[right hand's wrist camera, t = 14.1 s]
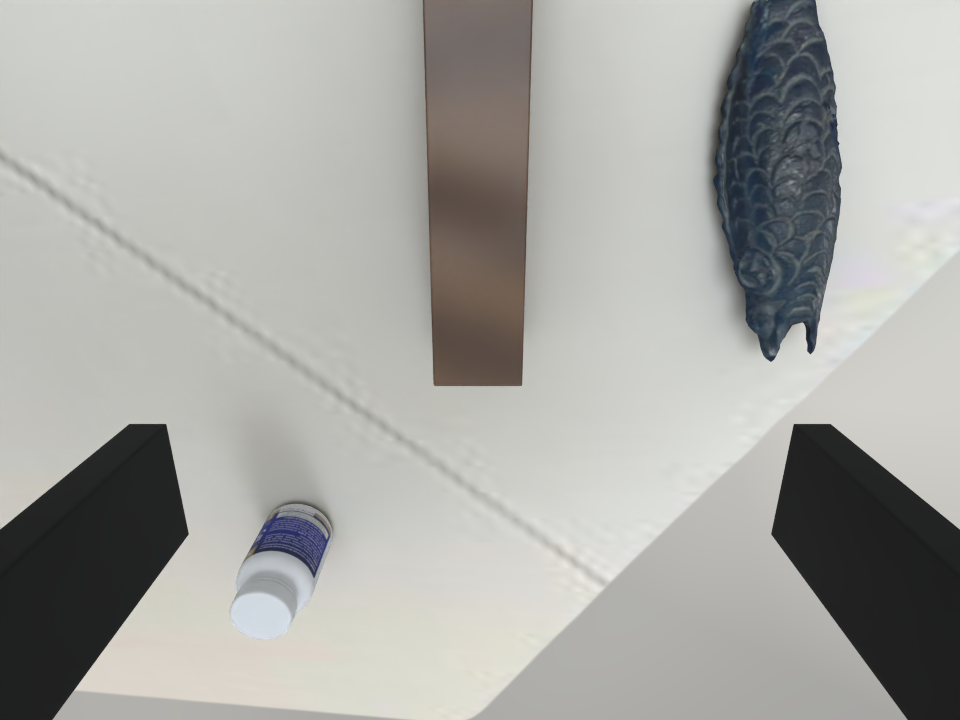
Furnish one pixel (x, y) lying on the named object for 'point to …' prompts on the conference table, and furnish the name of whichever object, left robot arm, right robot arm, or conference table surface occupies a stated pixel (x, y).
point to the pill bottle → (280, 571)
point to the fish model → (780, 169)
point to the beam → (477, 185)
